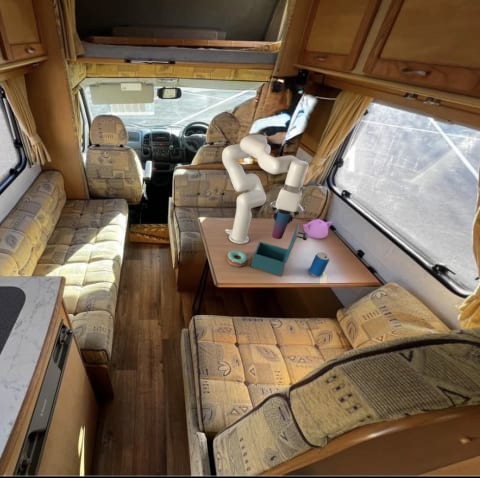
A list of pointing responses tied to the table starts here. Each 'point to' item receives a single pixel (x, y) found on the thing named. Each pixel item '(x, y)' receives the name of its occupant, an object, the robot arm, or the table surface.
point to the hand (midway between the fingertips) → (282, 220)
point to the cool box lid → (294, 241)
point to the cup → (281, 223)
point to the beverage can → (319, 264)
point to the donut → (237, 262)
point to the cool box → (269, 258)
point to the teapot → (317, 228)
